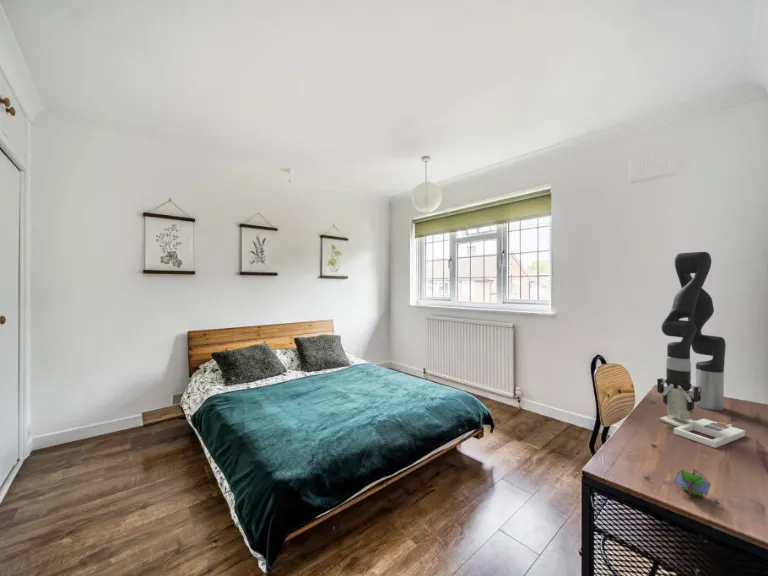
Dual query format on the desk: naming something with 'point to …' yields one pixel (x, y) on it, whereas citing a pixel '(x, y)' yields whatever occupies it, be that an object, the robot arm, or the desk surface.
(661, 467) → the desk surface
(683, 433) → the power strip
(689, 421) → the cream flat rectangular plate
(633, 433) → the desk surface
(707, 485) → the geometric puzzle
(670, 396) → the skincare box
